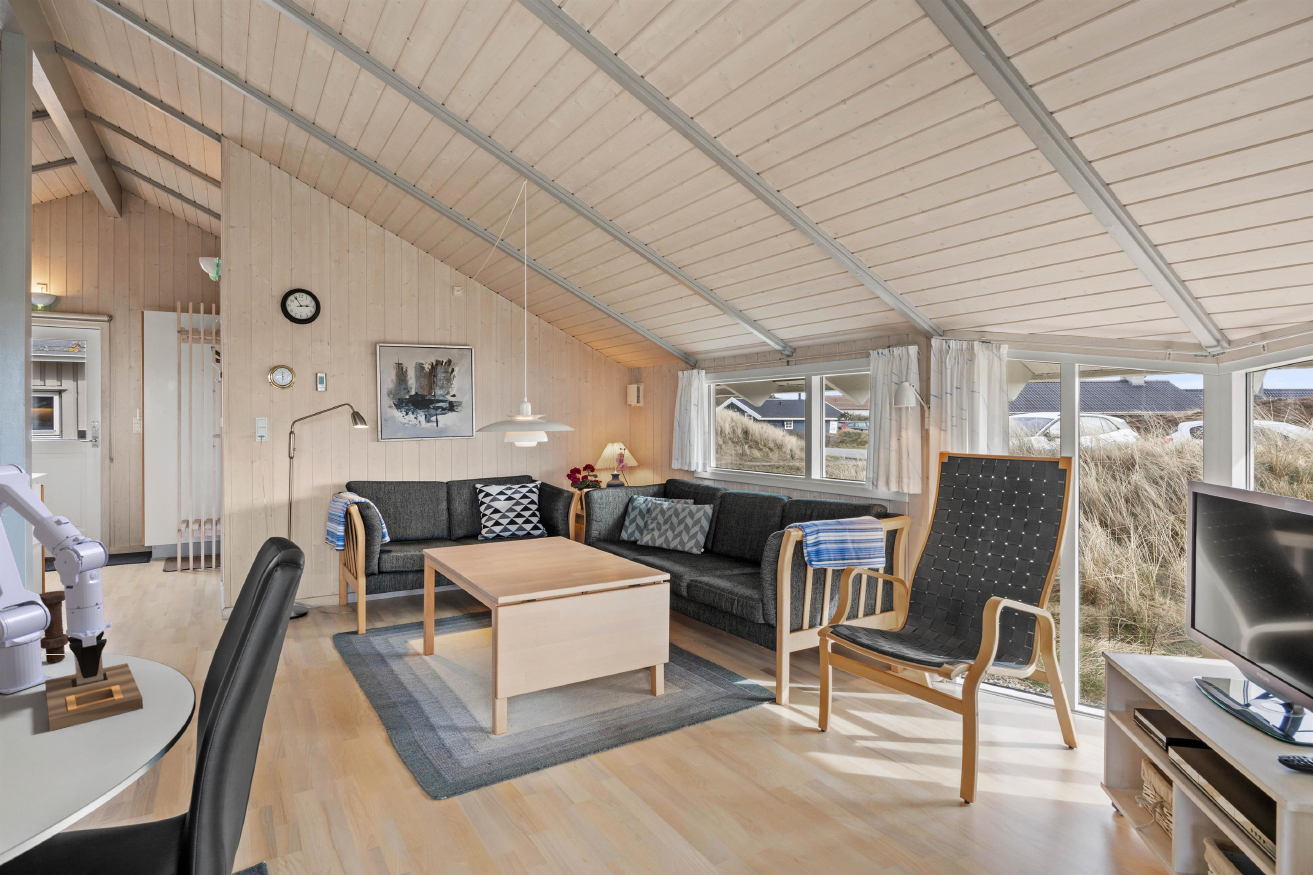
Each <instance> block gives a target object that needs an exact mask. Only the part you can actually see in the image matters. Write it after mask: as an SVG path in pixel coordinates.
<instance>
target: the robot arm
mask: <svg viewBox="0 0 1313 875" xmlns="http://www.w3.org/2000/svg"><path fill="white" fill-rule="evenodd" d="M30 486H31V476H30V475H29V474H28V473H26V471H25V469H24V468H23V467H22V466H20V465H19V464H16V463H10V464H5V465H0V515H1V514H2V513H3V512H4V509H6V508H8V507H10V508H12V510H14V511H15V512H16V513H18V515H20V516H21V518H23V519H25V520H26V522H28V523H29V524H31V525H32V526H33V531H32V535H33V537H34V538H35V539H36V540H37V541H38V542H39V543H40V544H41V546H43V547H44V548H45V549H46V550H47V551H48V552H49V553H50V554H51V555H52V556H53V557H54V561H53V565H54V568H55V570H56V572H57V574H58V575H59V580H60V583H61V585H62V586H63V587H64V590H63V591H65V600H64V602H65V603H64V604H65V614H66V619H65V620H66V630H65V634H66V635H67V636H69V637H68V638H67V639H68V647H69V650H70V651H71V652H72V653H73V656H74V655H75V656H76V658H77V660H78V663H79V667H80V671H81V674H82V676H83V678H84V679H85V678H90V677H94V676H97V674H98V670H99V663H100V657H101V653H102V654H103V650H104V648H105V646H106V644H107V641H108V640H107V638H103V637H104V635H105V630H106V629H109V628H112V627H113V623H112V621H107V622H105V611H104V608H105V607H104V595H103V579H102V578H103V577H102V569H103V568H104V567H105V566H107V563H108V561H109V552H108V549H107V548H106V546H105V545H104V543H103V542H102V541H101V540H98V539H97V540H96V539H91V537H85V535H84V534H82V532H81V531H80V530H79V529H78V528H77V527H75V526H74V524H73V523H71V521H70V520H69V519H68V517H66V516H64V515H53V513H52V512H51V510H50V509H49V508H48V507H47V506H46V504H45V503H44V502H43V501H42V500H41V498H40V497H39V496H38V494H36V493H35V491H34V490H33V489H32V488H31V487H30ZM11 547H12V546H11V544H10V543H9V539H8V536H7V532H6V530H5V527H4V524H3V520H2V518H1V516H0V694H5V695H10V694H15V693H16V692H20V691H23V690H26V689H28V688H31V687H35V686H37V685H41V684H44V683H45V680H49V679H54V676H51V675H44V673H43V672H44V671H43V660H42V659H43V658H42V648H41V642H40V640H41V637H43V636H45V635H44V633H45V632H44V630H46V629H47V628H48V626H49V624H50V612H49V610H48V609H47V607H46V606H45V605H44V604H43V602H42V601H41V598H40V595H39V594H40V593H36V592H34V591H31V590H28V589H26V588H25V587H24V584H23V580H22V578H21V575H20V573H19V568H18V565H17V563H16V560H15V557H14V554H13V551H12V548H11ZM11 607H12V608H11ZM9 608H10V609H9ZM5 609H7V610H5ZM2 610H3V611H2Z"/></svg>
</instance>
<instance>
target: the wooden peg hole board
mask: <svg viewBox="0 0 1313 875" xmlns="http://www.w3.org/2000/svg"><path fill="white" fill-rule="evenodd" d="M103 679H104V681H101V682H96V683H92V684H87V685H83V686H78V687H76V673H73V674H70V675H69V674H68V675H65V676H64V675H63V676H58V677H55V678H54V679H49V680H45V682H44V683H45V694H46V695H45V696H46V704H47V714H48V724H49V725H48V726H49V732H52V731H56V730H60V729H64V728H68V727H69V728H70V727H72V726H76V725H77V726H78V725H81V724H85V723H88V722H93V721H97V720H101V719H105V718H110V717H112V716H117V715H120V714H124V713H128V712H133V711H137V710H142V709H144V702H143V700H144V699H143V695H142V694H141V692H140V689H139V686H138V684H137V682H136V680H135V678H134V675H133V673H132V671H131V668H130V667H129V664H128V662H126V663H121V664H117V665H112V666H107V667H103Z"/></svg>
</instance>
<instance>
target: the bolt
mask: <svg viewBox="0 0 1313 875" xmlns="http://www.w3.org/2000/svg"><path fill="white" fill-rule="evenodd" d="M38 594H39V595H40V598H41V601H42V602H43V604H44V605H45V606H46V607H47V609H48V610H49V612H50V624H49V626H48V628H47V629H46V630H44V635H43V636H44V637H43V638H40V642H41V649H45V660H46V661H45V662H46V663H47V664H52V663H53V664H57V663H60V662H62V661H64V660H65V658H66V652H65V651H66V650H65V645H67V644H69V641H68V639H67V638H68V637H70V636H67V635H66V633H64V627H63V626H64V625H63V612H62V611H63V602H65V590H54V591H45V592H42V593H38ZM46 654H65V655H46Z"/></svg>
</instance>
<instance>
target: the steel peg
mask: <svg viewBox="0 0 1313 875" xmlns="http://www.w3.org/2000/svg"><path fill="white" fill-rule="evenodd" d="M73 656H74V658H73V659H74V670H75V673H74V674H76V687H78V686H83V685H87V684H92V683H96V682H101V681H104V679H103V668H104V666H103V652H102V653H101V657H100V663H99V670H98V674H97V676H94V677H90V678H85V679H84V678H83V676H82V674H81V671H80V667H79V663H78V660H77V658H76V656H75V655H74V654H73Z"/></svg>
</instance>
